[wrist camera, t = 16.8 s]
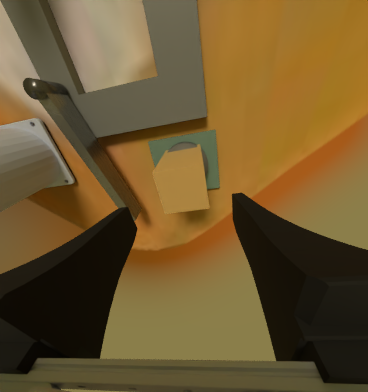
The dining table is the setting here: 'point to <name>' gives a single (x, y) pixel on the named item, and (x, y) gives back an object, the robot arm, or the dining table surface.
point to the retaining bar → (82, 140)
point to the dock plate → (131, 92)
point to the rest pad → (202, 138)
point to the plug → (182, 178)
